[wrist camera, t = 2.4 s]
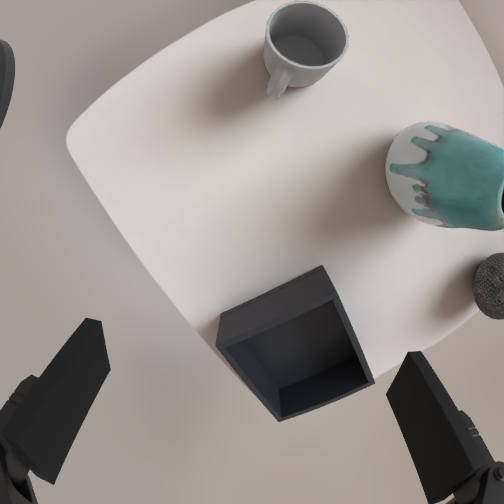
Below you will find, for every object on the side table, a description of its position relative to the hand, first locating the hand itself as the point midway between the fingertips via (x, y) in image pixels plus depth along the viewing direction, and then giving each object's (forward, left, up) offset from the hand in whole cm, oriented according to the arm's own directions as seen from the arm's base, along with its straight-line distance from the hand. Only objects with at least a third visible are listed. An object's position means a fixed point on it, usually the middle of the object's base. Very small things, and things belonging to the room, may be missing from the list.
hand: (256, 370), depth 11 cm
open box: (+17, -3, -25) cm, 30 cm away
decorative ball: (+24, +29, -25) cm, 45 cm away
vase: (+3, +21, -25) cm, 33 cm away
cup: (-14, +12, -25) cm, 31 cm away
